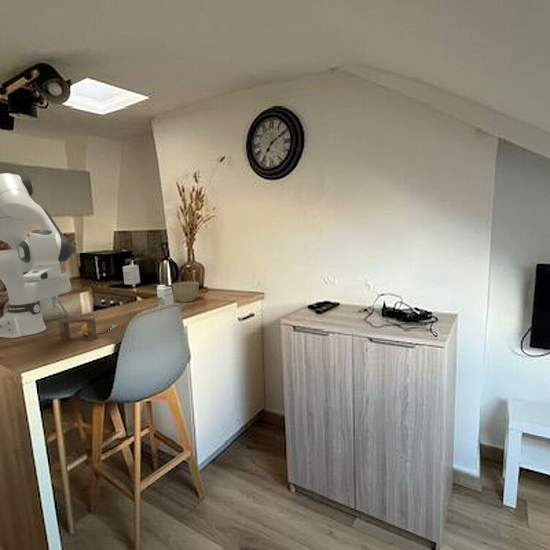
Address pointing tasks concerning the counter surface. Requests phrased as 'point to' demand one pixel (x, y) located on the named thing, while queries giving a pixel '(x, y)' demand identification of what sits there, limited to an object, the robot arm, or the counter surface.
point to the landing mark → (108, 330)
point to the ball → (84, 329)
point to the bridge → (64, 321)
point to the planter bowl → (185, 291)
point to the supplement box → (131, 274)
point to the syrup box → (164, 296)
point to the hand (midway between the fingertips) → (52, 308)
